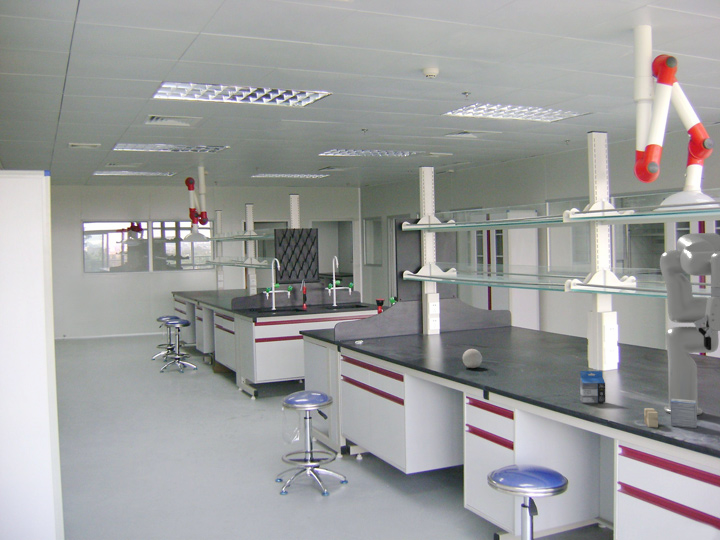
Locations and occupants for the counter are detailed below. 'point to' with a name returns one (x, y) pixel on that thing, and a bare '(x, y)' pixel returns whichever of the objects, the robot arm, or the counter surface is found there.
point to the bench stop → (650, 417)
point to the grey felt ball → (472, 358)
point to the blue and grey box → (592, 387)
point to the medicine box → (683, 413)
